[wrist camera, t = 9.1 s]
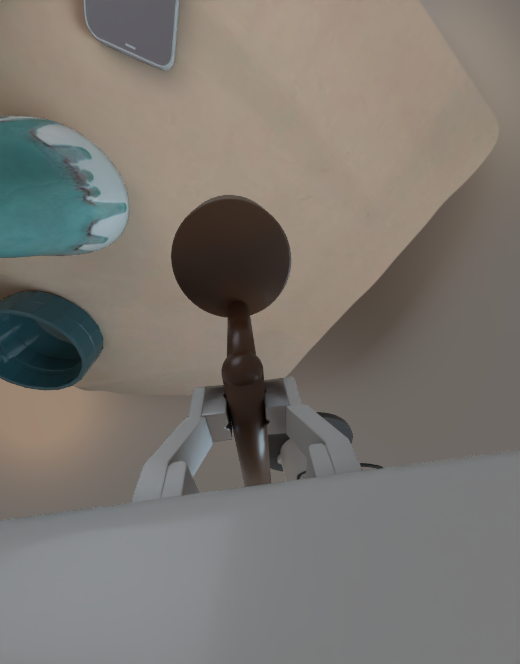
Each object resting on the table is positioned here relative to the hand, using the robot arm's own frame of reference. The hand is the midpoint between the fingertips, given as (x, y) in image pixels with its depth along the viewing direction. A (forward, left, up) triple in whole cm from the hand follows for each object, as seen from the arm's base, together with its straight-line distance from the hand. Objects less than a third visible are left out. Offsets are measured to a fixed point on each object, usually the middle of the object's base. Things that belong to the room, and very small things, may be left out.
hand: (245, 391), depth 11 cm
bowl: (+7, +31, -27) cm, 42 cm away
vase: (+16, +10, -27) cm, 33 cm away
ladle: (-2, +1, -7) cm, 7 cm away
